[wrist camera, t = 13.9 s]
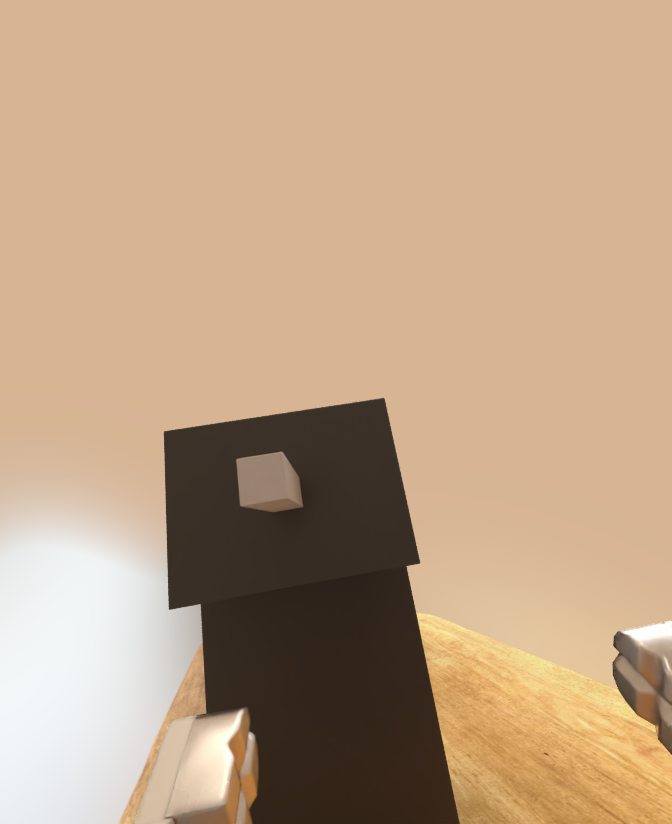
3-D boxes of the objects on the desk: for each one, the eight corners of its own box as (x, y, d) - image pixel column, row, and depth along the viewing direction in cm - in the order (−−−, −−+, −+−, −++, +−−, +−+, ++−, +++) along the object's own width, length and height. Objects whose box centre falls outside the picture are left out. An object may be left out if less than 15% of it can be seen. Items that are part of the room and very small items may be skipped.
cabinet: (474, 897, 23) (373, 405, 32) (218, 961, 22) (191, 433, 31) (425, 771, 34) (361, 436, 44) (256, 808, 33) (228, 457, 42)
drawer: (477, 591, 14) (412, 335, 17) (62, 671, 13) (75, 382, 16) (390, 551, 34) (367, 435, 37) (223, 581, 33) (214, 459, 36)
